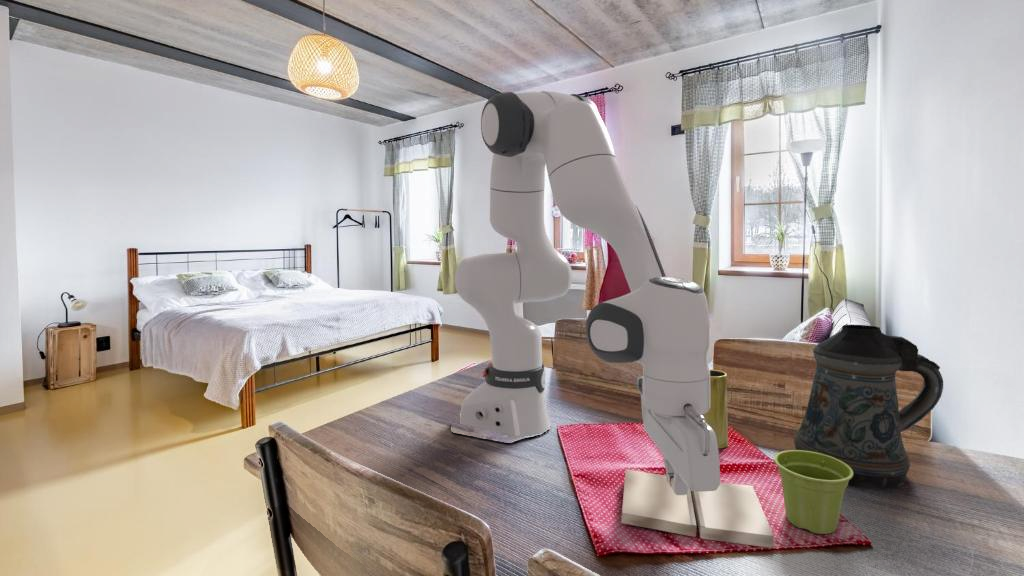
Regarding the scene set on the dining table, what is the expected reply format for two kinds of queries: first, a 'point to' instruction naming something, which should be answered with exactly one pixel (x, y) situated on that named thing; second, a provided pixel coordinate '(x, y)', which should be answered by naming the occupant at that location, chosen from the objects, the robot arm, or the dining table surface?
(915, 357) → the beer stein
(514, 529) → the dining table surface
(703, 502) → the board
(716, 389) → the vase
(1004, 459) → the dining table surface
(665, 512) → the loose plank
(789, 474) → the plant pot
